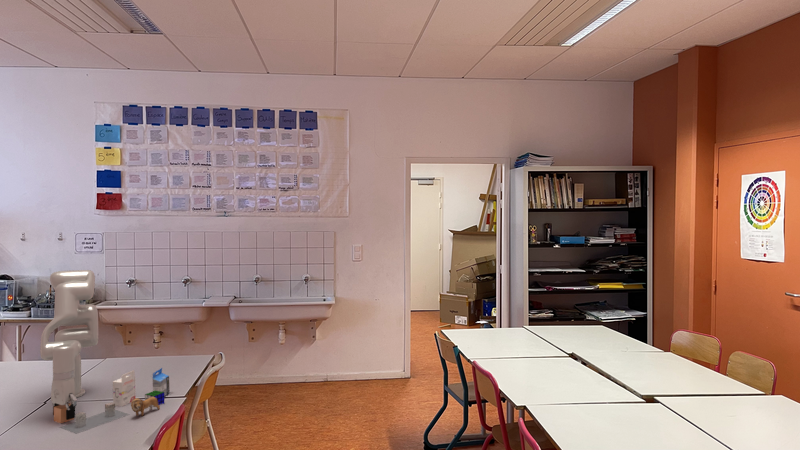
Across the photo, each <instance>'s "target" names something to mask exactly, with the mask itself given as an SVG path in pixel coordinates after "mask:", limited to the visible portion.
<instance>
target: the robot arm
mask: <svg viewBox="0 0 800 450" xmlns="http://www.w3.org/2000/svg"><path fill="white" fill-rule="evenodd" d="M49 281H50V284H51V287H52V288H53V289H54V313H53V314H54V316H53V319H52V320H51V321H50V322H49V323H48V324H47V325H46V326H45V328H44V329H43V331H42V333H41V335H40V336H41V337H40V348H39V349H40V351H39V352H40V358H41V359H42V360H43V361H47V362H48V361H52V381H51V390H50V401H51V403H52V416H54V407H55V406H58V405H66V407H67V410H66V420H69V419H72V418H74V419H75V414H76V409H77V408H76V407H77V403H78V399H77V398H79V397H81V396H84V395H85V394H86V390H85V389H83V388H82V357H81V356H82V355H81V351H82V348H83V349H84V348H91V347H94V346H96V345H98V342H99V310H98V307H97V306H96V305H95V304H90V303H89V304H80V301H88V300H92V298H93V297H94V295H95V285H96V275H95V272H94V271H93V270H89V269H81V270H80V269H79V270H78V269H77V270H73V269H72V270H61V271H54V272H52V273H51V274H50V276H49ZM84 325H85V327H73V326H84ZM61 326H62V327H72V328H63V329H61V330H59V331H57V332H56V333H55V336H54V341H49V340H50V337H51V334H52V333H53V332H54V331H55V330H57V329H58V328H59V327H61ZM69 404H71V405H70V406H69Z"/></svg>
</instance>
